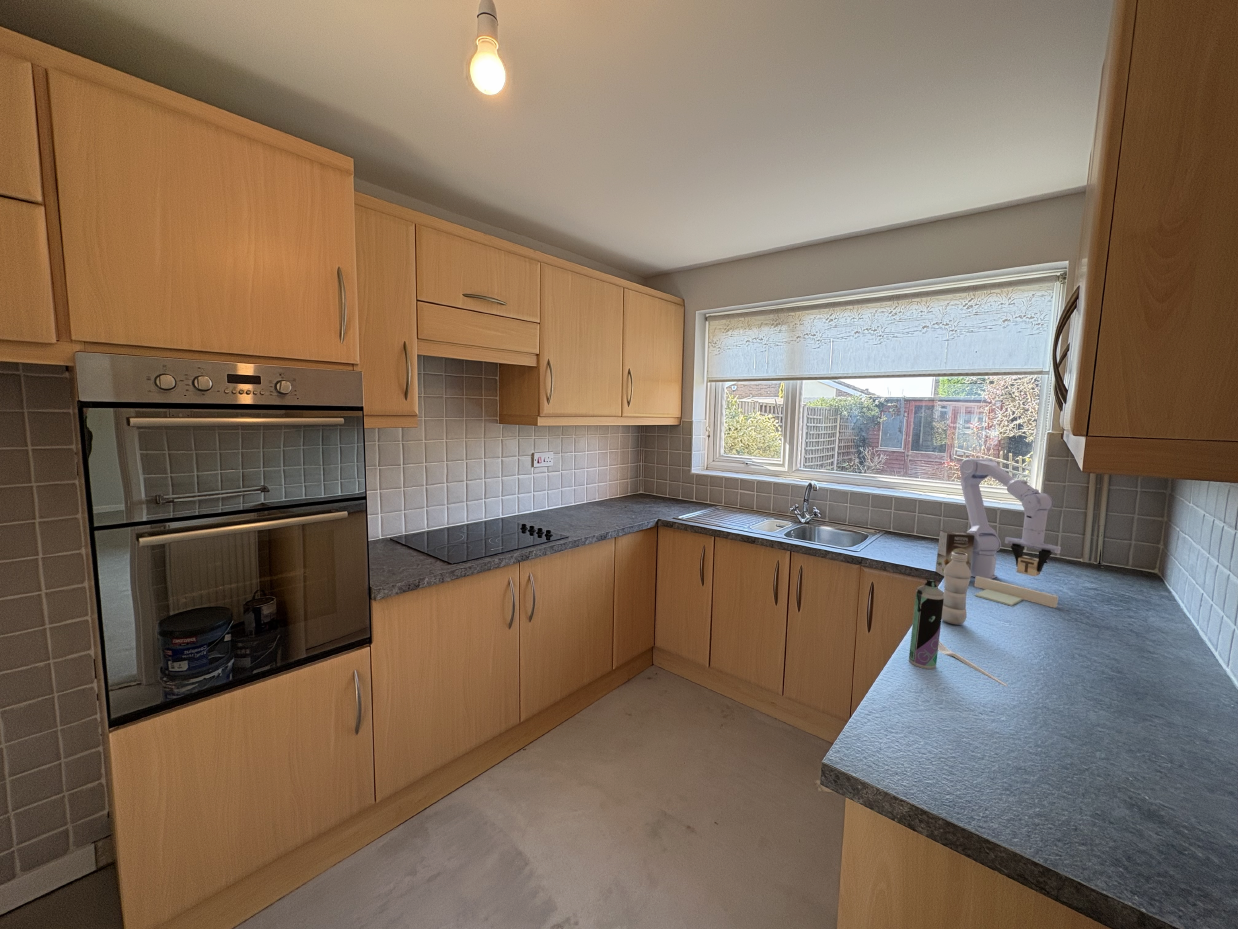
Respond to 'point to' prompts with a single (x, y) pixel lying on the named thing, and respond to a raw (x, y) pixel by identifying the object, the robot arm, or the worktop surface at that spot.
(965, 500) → the robot arm
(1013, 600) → the pad
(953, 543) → the coffee box
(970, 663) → the fork
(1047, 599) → the cream board
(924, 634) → the spray can
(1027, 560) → the lettered cube
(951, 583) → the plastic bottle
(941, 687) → the worktop surface
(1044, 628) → the worktop surface
